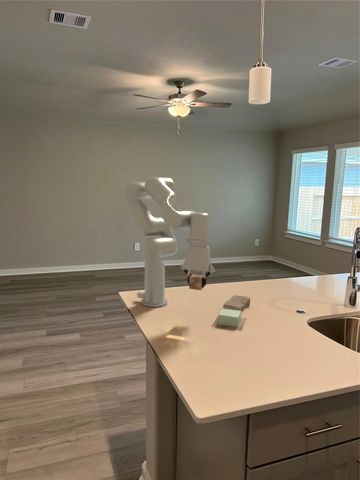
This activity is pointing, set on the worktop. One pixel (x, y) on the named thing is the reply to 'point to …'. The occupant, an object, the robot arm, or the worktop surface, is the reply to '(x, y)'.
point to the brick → (237, 303)
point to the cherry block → (196, 282)
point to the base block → (229, 317)
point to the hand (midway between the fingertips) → (196, 285)
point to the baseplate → (230, 326)
